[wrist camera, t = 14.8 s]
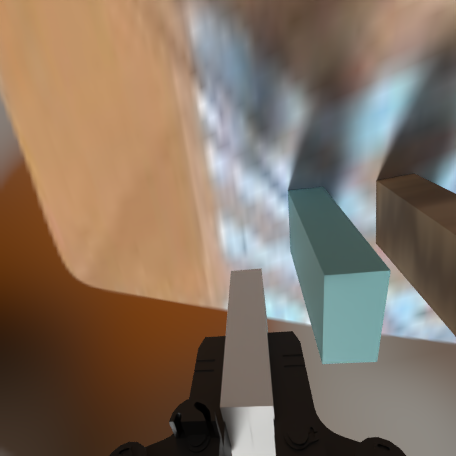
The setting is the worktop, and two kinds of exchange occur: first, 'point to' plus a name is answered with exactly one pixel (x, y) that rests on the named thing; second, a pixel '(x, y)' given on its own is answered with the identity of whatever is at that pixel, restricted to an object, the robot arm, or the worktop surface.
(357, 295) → the domino
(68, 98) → the worktop surface
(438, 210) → the domino
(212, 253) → the worktop surface
